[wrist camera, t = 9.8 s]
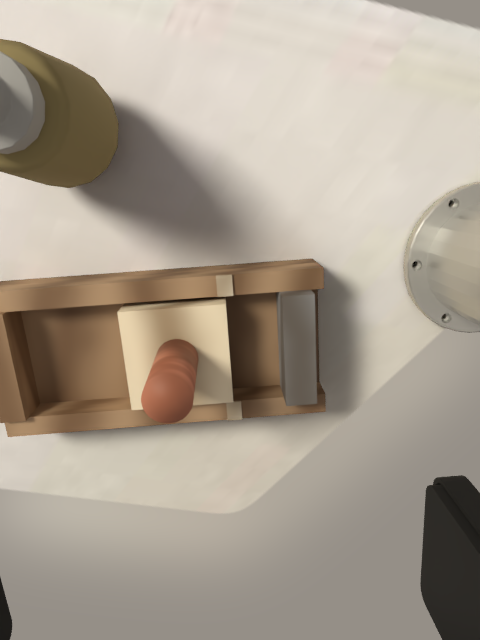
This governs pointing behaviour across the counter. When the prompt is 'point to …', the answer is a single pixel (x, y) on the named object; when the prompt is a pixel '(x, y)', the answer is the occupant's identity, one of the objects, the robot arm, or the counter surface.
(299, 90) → the counter surface
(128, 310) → the carriage
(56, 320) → the base
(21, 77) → the squeeze bottle
